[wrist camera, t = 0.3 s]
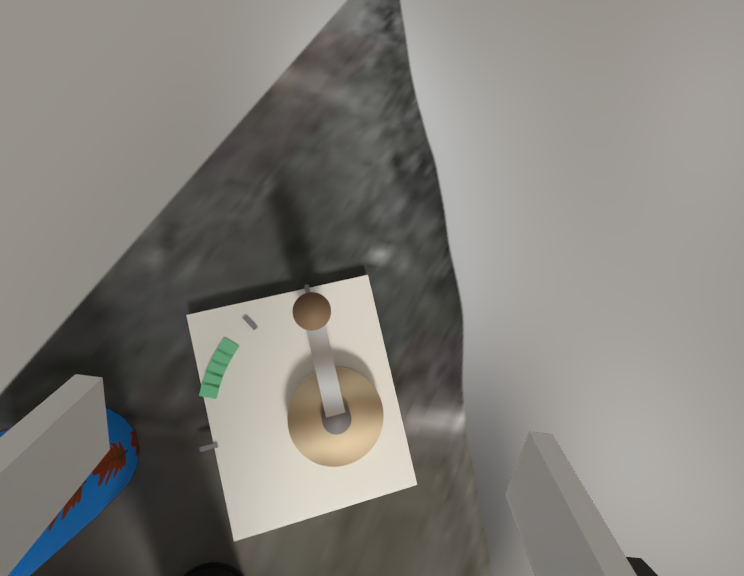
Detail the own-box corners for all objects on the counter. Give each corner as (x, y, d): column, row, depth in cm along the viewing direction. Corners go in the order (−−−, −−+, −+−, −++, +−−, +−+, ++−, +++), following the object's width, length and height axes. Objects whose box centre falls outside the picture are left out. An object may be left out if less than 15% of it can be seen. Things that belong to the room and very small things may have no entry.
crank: (389, 445, 44) (420, 496, 31) (300, 471, 43) (293, 536, 30) (353, 291, 45) (369, 278, 32) (264, 311, 44) (243, 306, 31)
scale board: (413, 479, 46) (417, 485, 45) (223, 538, 43) (219, 546, 41) (365, 273, 47) (367, 271, 46) (176, 314, 44) (171, 314, 43)
